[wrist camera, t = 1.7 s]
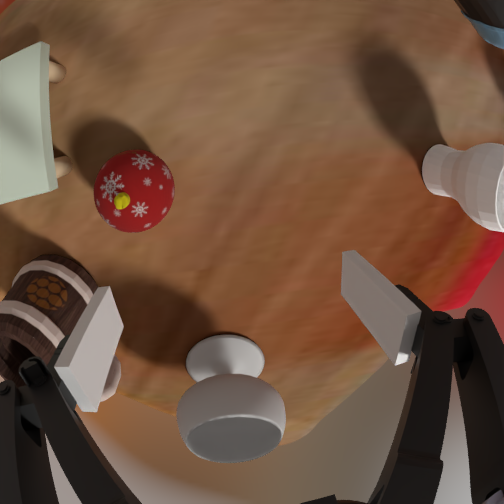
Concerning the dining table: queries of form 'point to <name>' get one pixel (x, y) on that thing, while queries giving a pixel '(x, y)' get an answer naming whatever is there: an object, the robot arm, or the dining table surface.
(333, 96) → the dining table surface
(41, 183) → the mint green side table
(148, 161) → the christmas ornament
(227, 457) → the chalice
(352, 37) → the dining table surface
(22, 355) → the mug
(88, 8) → the dining table surface
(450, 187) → the cup
